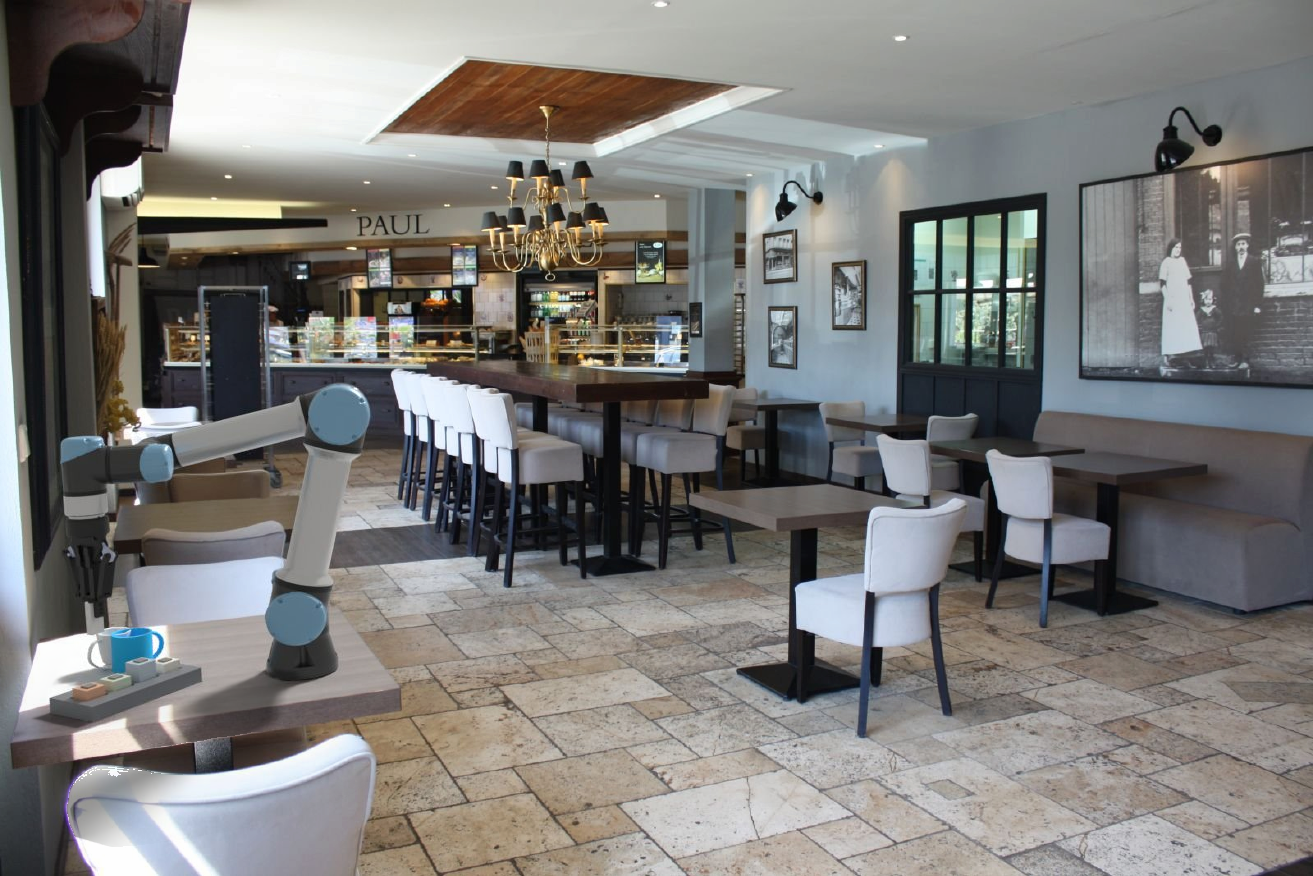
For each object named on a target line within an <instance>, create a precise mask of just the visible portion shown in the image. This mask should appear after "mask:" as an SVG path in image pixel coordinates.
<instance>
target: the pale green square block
mask: <svg viewBox="0 0 1313 876" xmlns="http://www.w3.org/2000/svg"><path fill="white" fill-rule="evenodd" d="M99 681H100V684H103V685H105V690H106V691H111V692H116V691H119V690H121V689H124V688H127V687H130V686H132V684H131V676H129V675H124V674H118V673H116V674H115V673H113V674H111V675H108V676H105V677H102V678H99Z"/></svg>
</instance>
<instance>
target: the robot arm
mask: <svg viewBox="0 0 1313 876" xmlns="http://www.w3.org/2000/svg"><path fill="white" fill-rule="evenodd" d="M370 420H371V409H370V403H369V402H368V399H367V397H366V395H365V394H364V393H363V391H362V390H360V389H359V388H358V387H357V386H355V385H352V384H351V383H350V384H349V383H346V382H335V383H330V384H327V385H326V386H324V387H322V388H319V389H318V390H314V391H312V392H308V393H304V394H301V395H298V396H296V398H295V399H294V400H293V402H289V403H284V404H282V405H281V404H280V405H278V406H273V407H267V408H266V409H261V410H256V411H253V412H250V413H245V414H241V415H238V416H237V415H236V416H233V417H228V418H225V419H222V420H218V421H213V422H208V423H206V424H203V425H197V426H194V427H190V428H186V429H181V430H177V431H174V432H171V433H166V434H161V435H158V436H155V435H154V436H150V437H146V438H143V439H142V440H140V441H139V442H137V443H135V444H130V445H106V444H105V442H104V438H103V437H102V436H99V435H81V436H80V435H79V436H71V437H66V438H63V440H61V442H60V462H59V463H60V468H61V469H60V470H61V477H62V478H61V479H62V489H63V508H64V509H63V511H64V512H63V513H64V515H65V516H66V517H67V518H66V519H65V534H66V536H67V537H68V538H70V539H71V540H70V544H69V545H70V546H68V548H65V549H64V548H63V549H61V555H62V557H63V559H64V561H65V563H66V567H67V572H68V576H69V580H70V583H71V587H72V591H73V596H74V597H75V598H79V599H80V600H81V602H82V604H83V614H84V617H85V623H86V635H88V636H96V634H98V633H102V632H104V629H105V622H104V618H105V614H106V613H105V603H104V601H105V600H106V599H108V598H109V599H110V598H111V597H112V596H113V591H114V590H113V587H114V581H115V572H116V562H117V560H118V558H119V555H120V554H119V551H117V550H112V549H110V547H109V543H108V540H107V535H108V534H110V533H111V527H110V516H109V515H108V514H107V513H108V512H109V501H108V488H107V487H108V485H115V484H118V485H120V484H139V483H140V484H141V483H145V484H146V483H150V484H155V483H159V482H168V481H170V480H171V479H172V478H173V474H174V470H177V469H181V468H183V467H186V466H191V465H195V464H199V463H203V462H207V461H210V460H215V459H220V458H222V457H226V456H230V455H235V454H238V453H241V452H245V451H246V452H247V451H249V450H250V451H251V450H254V449H258V448H261V447H265V446H266V447H267V446H269V445H273V444H278V443H281V442H285V441H289V440H293V439H297V438H300V437H303V443H302V445H303V446H304V447H305V450H306V451H307V453H308V457H307V459H306V460H307V461H306V466H305V470H304V475H303V476H304V477H303V479H302V485H301V490H300V493H299V499H298V503H297V507H296V513H295V518H294V523H293V527H292V530H291V531H292V532H291V536H290V540H289V541H290V542H289V547H288V551H287V555H286V560H285V565H284V566H283V567H281V568H277V569H275V570H273V572H272V574H271V580H270V582H271V584H272V585H271V586H272V587H271V588H272V589H271V594H270V598H269V603H268V606H267V607H266V610H265V614H264V620H265V625H266V628H267V631H268V632H269V634H270V636H271V637H272V638H273V640H272V642H271V646H270V649H269V655H268V658H267V660H266V662H265V663H266V664H265V667H266V668H265V670H266V673H265V674H266V675H267V676H269V677H270V678H274V679H276V680H277V679H278V680H284V681H285V680H286V681H287V680H288V681H299V680H308V679H314V678H319V677H323V676H325V675H326V676H327V675H328V674H331V673H333V672H335V671H336V670H338V668H339V654H338V653H337V652H336V650H335V646H334V643H333V639H332V637H331V634H330V611H329V610H330V609H329V608H330V607H329V606H330V601H331V596H332V591H333V586H334V579H333V578H332V577H331V575H330V574H329V570H330V565H331V559H332V556H333V555H332V554H333V550H334V546H335V540H336V536H337V531H338V527H339V523H340V522H339V521H340V518H341V517H340V516H341V513H342V509H343V508H342V507H343V504H344V499H345V495H346V489H347V486H348V485H347V484H348V480H349V475H350V470H351V466H352V461H354V460H355V459H357V458H358V457H360V456H362V455H361V454H362V451H363V446H364V441H365V438H366V432H367V428H368V427H369V424H370Z"/></svg>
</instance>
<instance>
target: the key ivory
mask: <svg viewBox="0 0 1313 876" xmlns="http://www.w3.org/2000/svg"><path fill="white" fill-rule="evenodd" d="M155 660H156V673H160V674H166V673H169V672H172V671H175V670H178V669H180V664H181V661H180V658H176V657H175V658H174V657H169V656H163V657H162V658H158V659H155Z"/></svg>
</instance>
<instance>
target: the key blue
mask: <svg viewBox="0 0 1313 876" xmlns="http://www.w3.org/2000/svg"><path fill="white" fill-rule="evenodd" d="M156 660H157V659H149V658H143V657H141V658H138V659H135V660H132V661H129V662H126V663H125V668H126V675H129V676H131V681H133V682H138V683H141V682H144V681H147V680H150V679H152V678H155V677H156Z"/></svg>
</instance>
